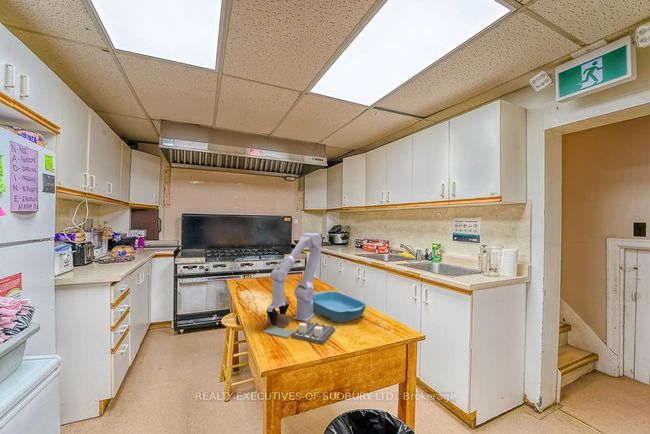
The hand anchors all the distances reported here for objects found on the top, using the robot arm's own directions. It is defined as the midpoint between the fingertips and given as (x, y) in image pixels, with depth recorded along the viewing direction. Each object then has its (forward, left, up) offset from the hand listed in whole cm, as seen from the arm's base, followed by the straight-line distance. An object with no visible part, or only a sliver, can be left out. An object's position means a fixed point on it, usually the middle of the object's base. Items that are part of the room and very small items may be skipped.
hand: (277, 321), depth 128 cm
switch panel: (+1, +20, -1) cm, 20 cm away
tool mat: (+7, +5, -1) cm, 9 cm away
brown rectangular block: (0, 0, -2) cm, 2 cm away
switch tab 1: (+5, +16, 0) cm, 17 cm away
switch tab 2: (+5, +24, 0) cm, 24 cm away
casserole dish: (-28, +19, -2) cm, 34 cm away
